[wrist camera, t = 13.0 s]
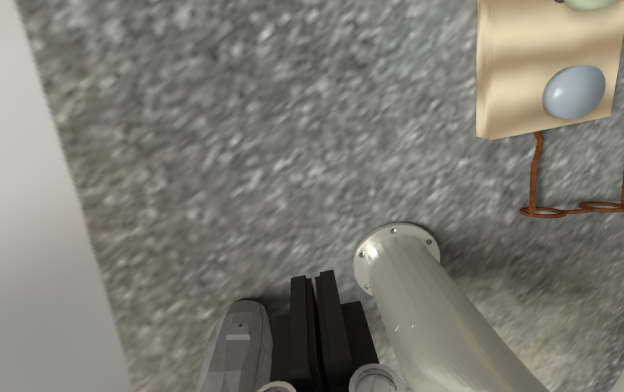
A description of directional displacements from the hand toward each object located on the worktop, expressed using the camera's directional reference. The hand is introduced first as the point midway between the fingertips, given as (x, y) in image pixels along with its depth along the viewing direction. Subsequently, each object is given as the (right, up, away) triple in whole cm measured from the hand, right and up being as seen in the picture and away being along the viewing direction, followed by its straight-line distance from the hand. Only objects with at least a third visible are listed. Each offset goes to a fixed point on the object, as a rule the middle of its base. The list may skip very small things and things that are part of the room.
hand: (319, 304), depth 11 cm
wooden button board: (+25, +26, +21) cm, 41 cm away
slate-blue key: (+27, +15, +20) cm, 37 cm away
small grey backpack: (-9, -16, +35) cm, 39 cm away
